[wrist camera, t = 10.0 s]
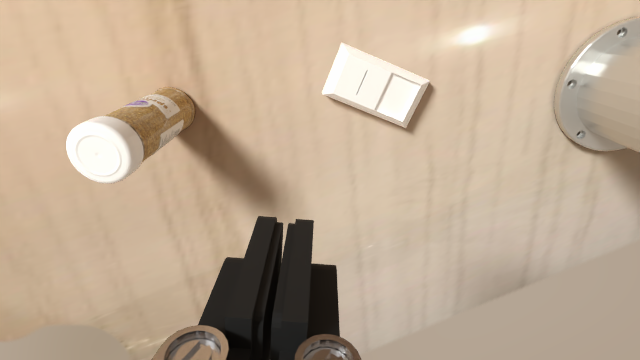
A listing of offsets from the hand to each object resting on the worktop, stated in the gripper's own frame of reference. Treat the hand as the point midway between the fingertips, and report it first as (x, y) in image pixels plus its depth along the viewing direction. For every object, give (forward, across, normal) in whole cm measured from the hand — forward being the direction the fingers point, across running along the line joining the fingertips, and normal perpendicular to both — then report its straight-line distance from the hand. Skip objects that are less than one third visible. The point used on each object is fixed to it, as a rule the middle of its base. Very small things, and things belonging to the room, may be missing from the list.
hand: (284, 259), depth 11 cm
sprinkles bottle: (+27, +14, +3) cm, 31 cm away
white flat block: (+28, -6, -1) cm, 28 cm away
